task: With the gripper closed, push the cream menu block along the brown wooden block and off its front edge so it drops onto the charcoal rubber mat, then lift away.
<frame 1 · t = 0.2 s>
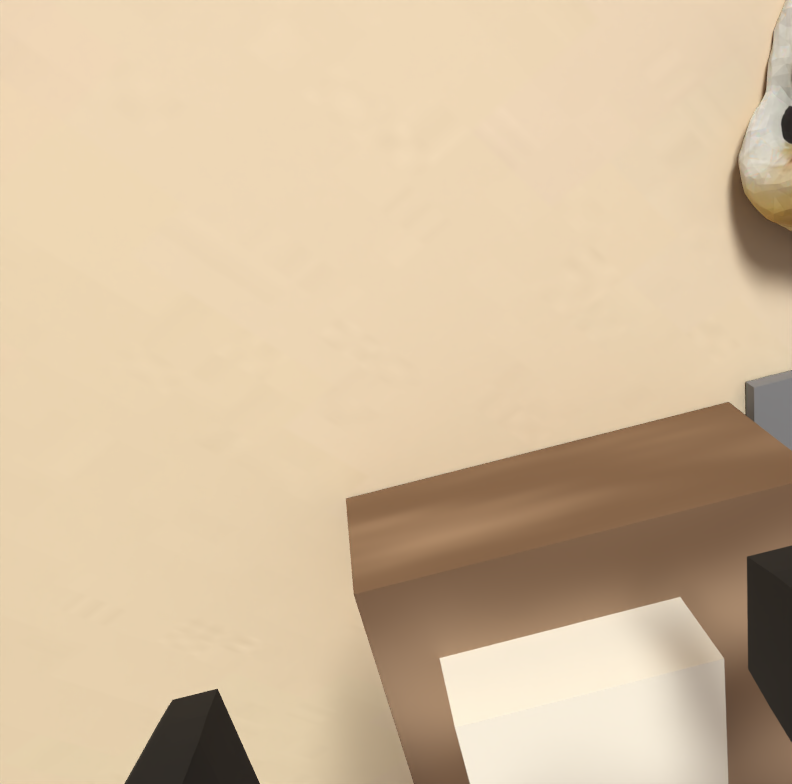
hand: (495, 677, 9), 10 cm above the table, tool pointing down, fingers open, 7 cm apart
brown wooden block: (567, 636, 23), on the table
menu block: (580, 752, 19), point 4 cm above the table, touching brown wooden block
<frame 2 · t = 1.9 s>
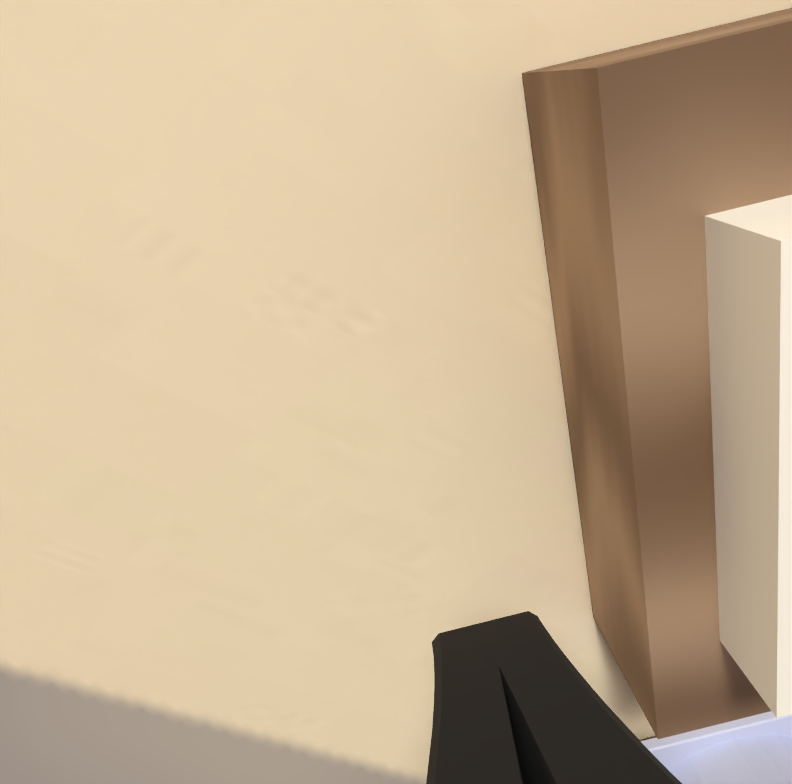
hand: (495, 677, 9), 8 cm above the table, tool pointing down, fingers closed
brown wooden block: (789, 336, 17), on the table
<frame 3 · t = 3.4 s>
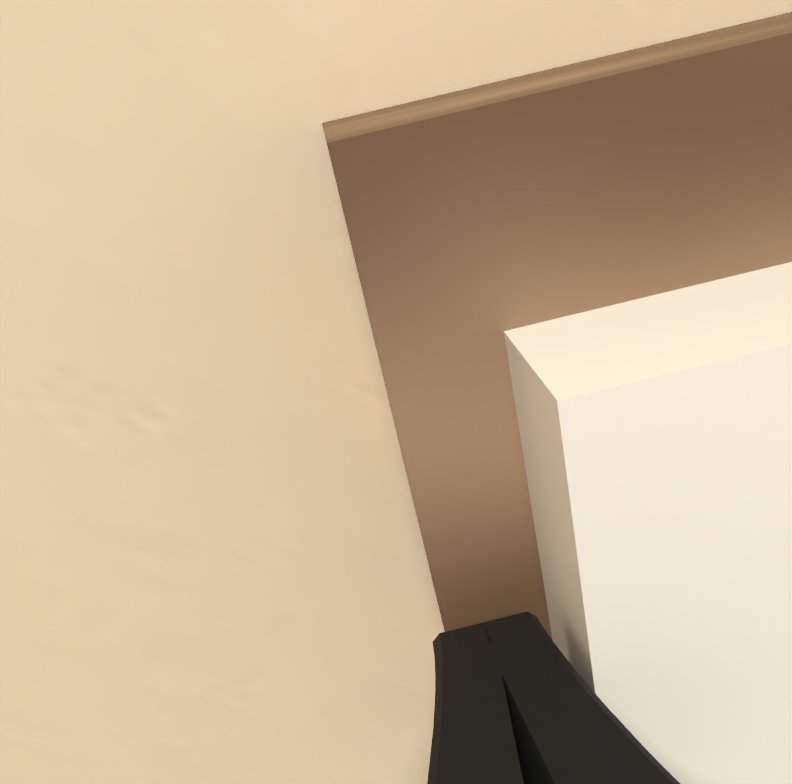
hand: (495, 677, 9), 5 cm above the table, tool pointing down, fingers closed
brown wooden block: (683, 429, 14), on the table
menu block: (749, 568, 10), point 4 cm above the table, touching gripper, brown wooden block
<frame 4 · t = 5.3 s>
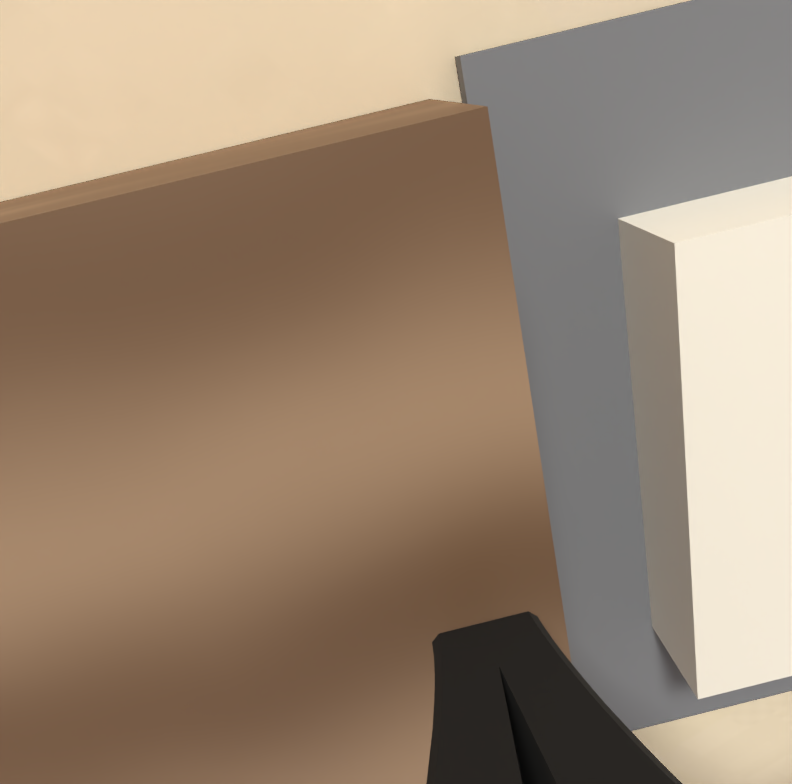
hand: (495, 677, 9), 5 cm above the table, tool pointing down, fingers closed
mat: (767, 408, 14), on the table
brown wooden block: (225, 542, 14), on the table
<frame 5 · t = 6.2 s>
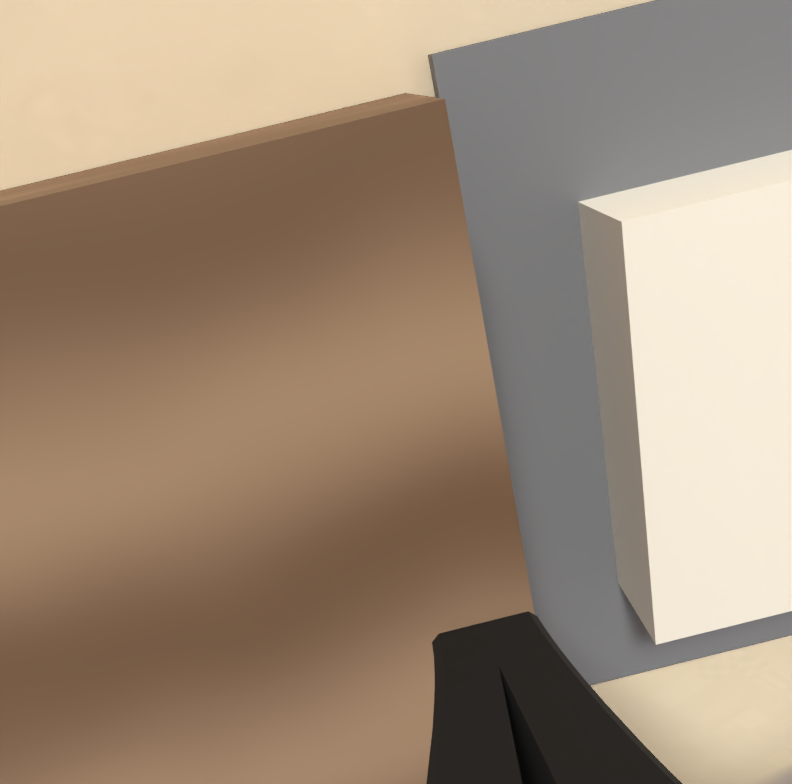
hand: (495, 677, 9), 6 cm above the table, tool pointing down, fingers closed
mat: (722, 379, 15), on the table
brown wooden block: (222, 501, 15), on the table
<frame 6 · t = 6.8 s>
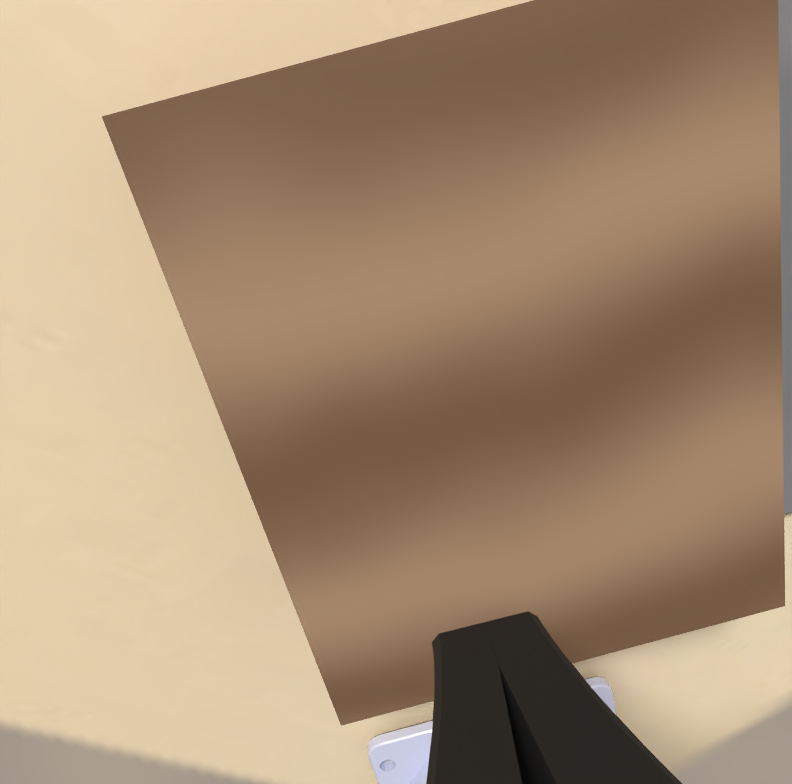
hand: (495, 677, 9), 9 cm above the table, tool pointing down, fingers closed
brown wooden block: (472, 343, 18), on the table
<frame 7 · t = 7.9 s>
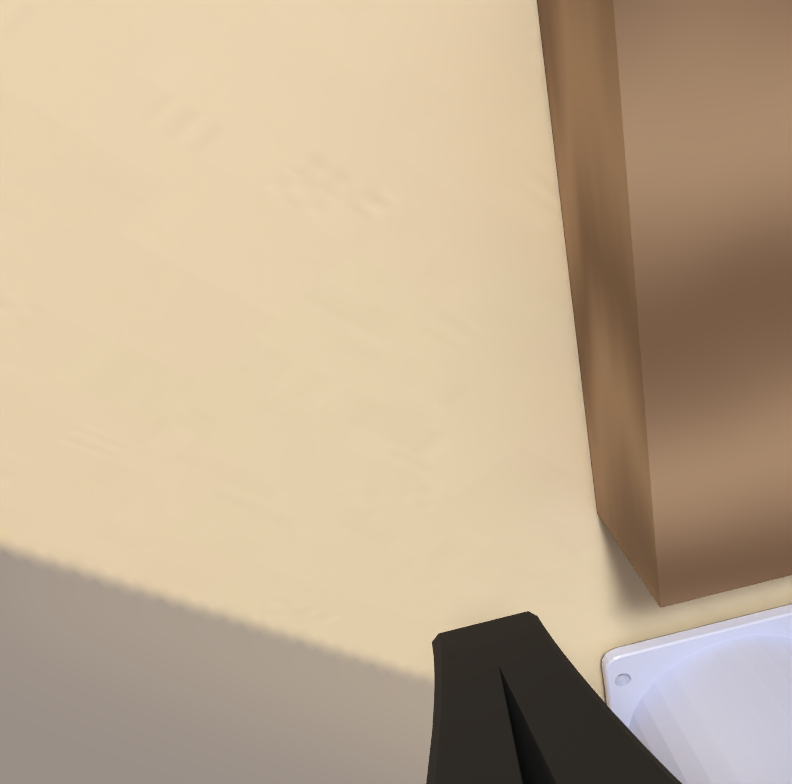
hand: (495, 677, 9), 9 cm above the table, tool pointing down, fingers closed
brown wooden block: (786, 226, 17), on the table
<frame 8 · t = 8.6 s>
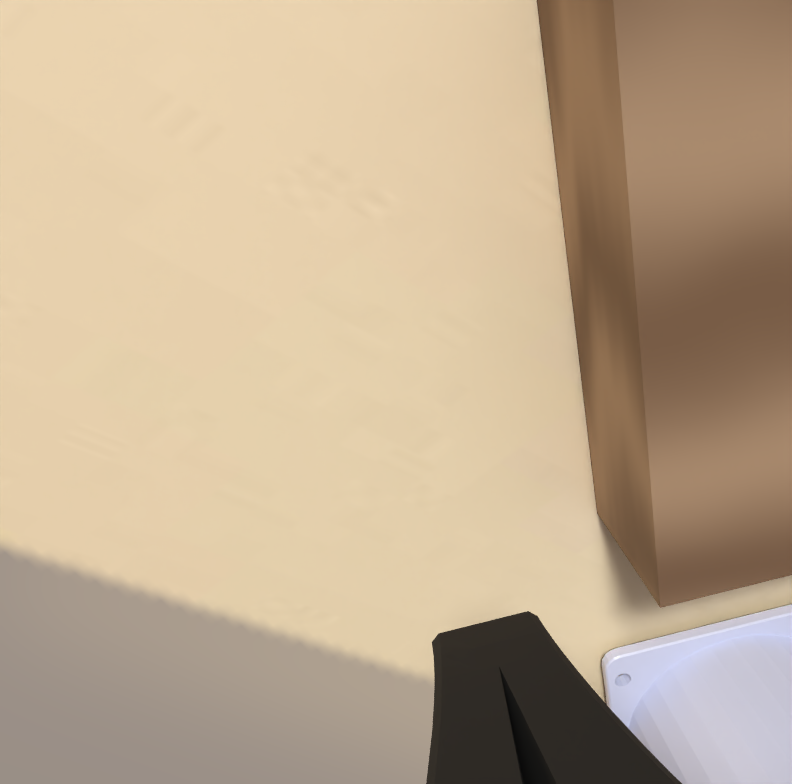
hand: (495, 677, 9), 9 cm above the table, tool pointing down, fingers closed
brown wooden block: (786, 226, 17), on the table
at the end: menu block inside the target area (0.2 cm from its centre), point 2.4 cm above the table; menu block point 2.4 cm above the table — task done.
